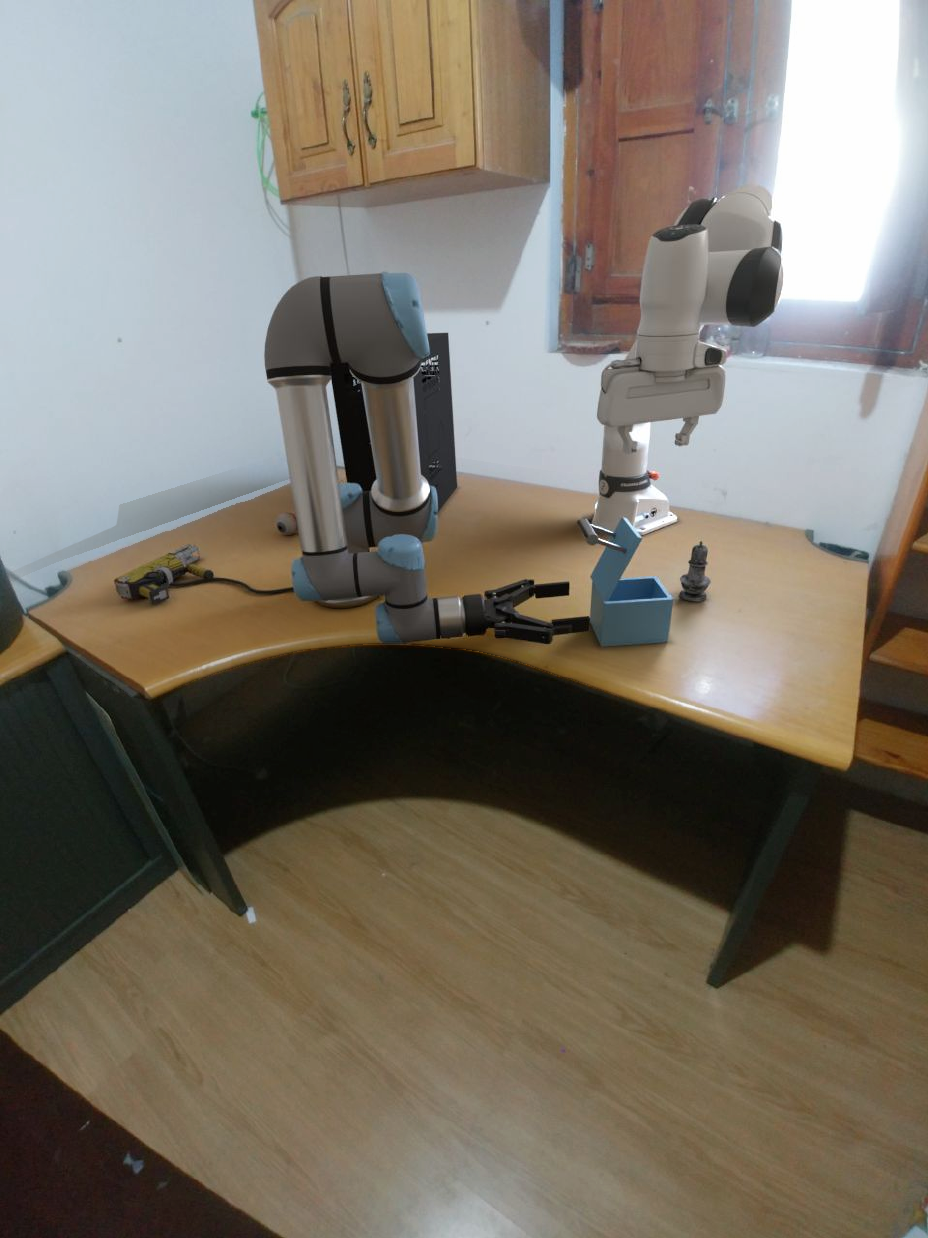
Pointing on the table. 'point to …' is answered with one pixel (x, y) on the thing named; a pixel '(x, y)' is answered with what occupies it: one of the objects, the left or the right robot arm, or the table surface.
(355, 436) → the dark boxy piece
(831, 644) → the table surface
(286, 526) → the eyeball
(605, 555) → the lid
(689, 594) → the dark grey turned figure
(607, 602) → the chest
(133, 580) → the toy gun
